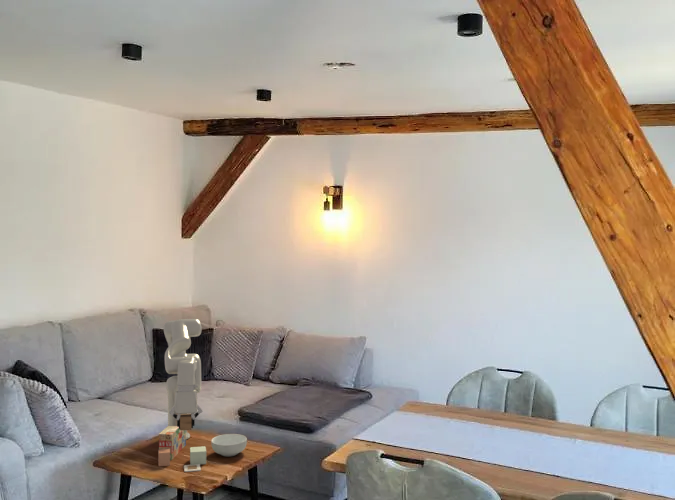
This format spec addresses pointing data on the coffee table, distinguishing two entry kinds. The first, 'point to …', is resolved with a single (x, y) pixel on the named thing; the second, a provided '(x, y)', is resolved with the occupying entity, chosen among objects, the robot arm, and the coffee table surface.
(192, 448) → the sage base block
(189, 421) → the walnut block
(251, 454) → the coffee table surface
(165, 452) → the terracotta block
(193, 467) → the tile
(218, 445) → the cereal bowl
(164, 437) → the stack of blocks
